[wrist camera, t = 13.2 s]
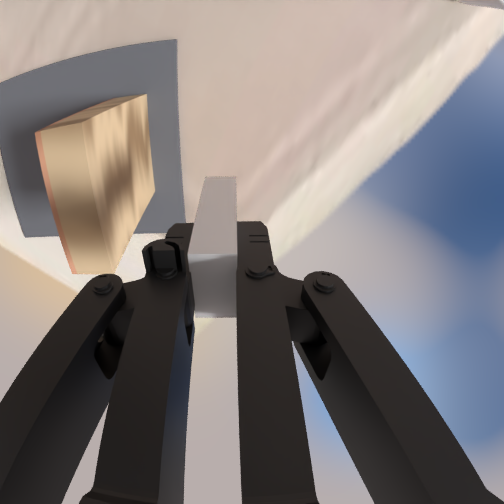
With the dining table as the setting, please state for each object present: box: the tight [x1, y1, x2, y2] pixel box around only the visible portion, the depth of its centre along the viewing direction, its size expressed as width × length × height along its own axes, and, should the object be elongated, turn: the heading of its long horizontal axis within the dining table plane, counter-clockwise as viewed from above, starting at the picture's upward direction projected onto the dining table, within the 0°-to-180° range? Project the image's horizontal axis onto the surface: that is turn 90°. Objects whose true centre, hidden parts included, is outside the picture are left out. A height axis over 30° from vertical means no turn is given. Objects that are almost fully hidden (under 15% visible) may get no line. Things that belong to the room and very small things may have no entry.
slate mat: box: [0, 39, 186, 237], centre depth 24 cm, size 18×20×1 cm
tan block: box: [35, 94, 155, 274], centre depth 19 cm, size 9×3×12 cm, turn 179°
